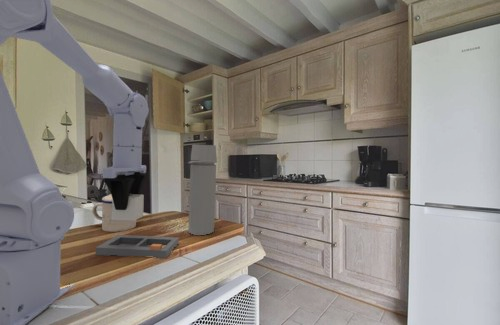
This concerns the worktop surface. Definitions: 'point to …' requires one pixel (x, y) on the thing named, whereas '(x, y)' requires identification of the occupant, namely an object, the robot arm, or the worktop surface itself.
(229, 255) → the worktop surface
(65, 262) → the worktop surface
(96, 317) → the worktop surface
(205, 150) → the water bottle
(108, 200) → the teacup with lid
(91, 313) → the worktop surface
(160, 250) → the grey divided tray
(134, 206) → the block
